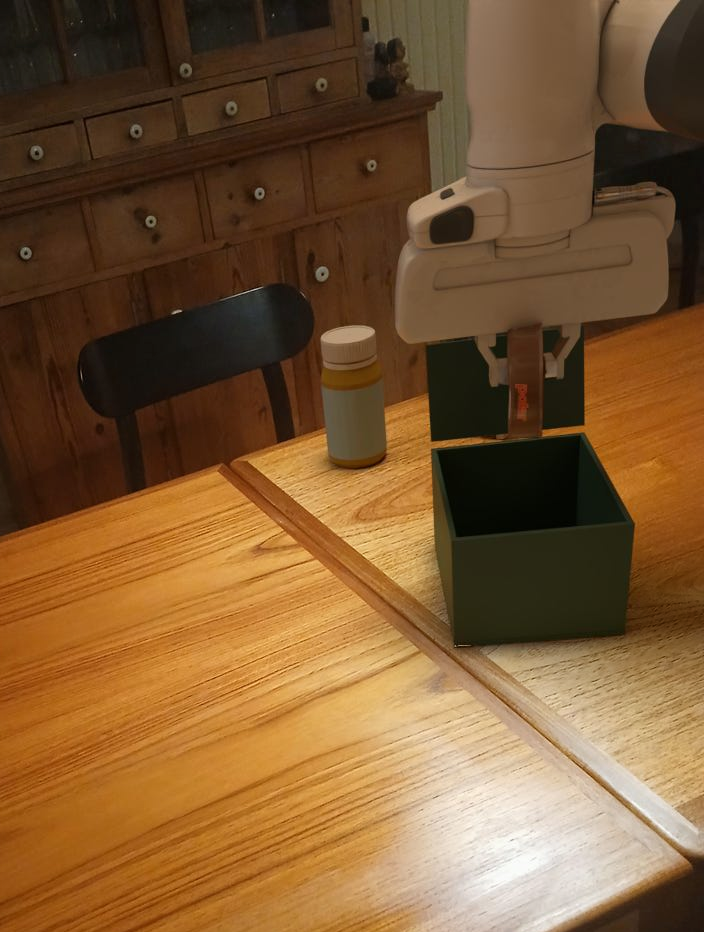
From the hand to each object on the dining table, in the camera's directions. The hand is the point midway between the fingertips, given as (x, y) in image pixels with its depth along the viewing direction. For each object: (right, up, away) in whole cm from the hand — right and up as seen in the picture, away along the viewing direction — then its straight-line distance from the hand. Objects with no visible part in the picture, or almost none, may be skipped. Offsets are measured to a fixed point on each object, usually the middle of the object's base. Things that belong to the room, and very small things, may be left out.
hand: (525, 380), depth 80 cm
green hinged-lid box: (+3, -16, +11) cm, 20 cm away
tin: (0, -3, +2) cm, 3 cm away
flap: (+1, +2, +10) cm, 11 cm away
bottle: (-8, +1, +39) cm, 40 cm away
